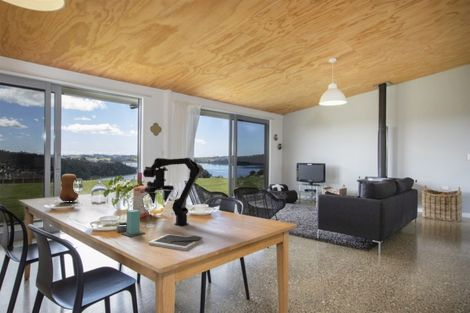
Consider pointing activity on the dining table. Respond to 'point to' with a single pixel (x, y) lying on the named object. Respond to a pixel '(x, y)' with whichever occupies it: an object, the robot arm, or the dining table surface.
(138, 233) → the dark grey pad
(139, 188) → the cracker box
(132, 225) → the teal block
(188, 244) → the picture frame
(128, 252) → the dining table surface
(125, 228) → the grey holder
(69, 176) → the butternut squash
